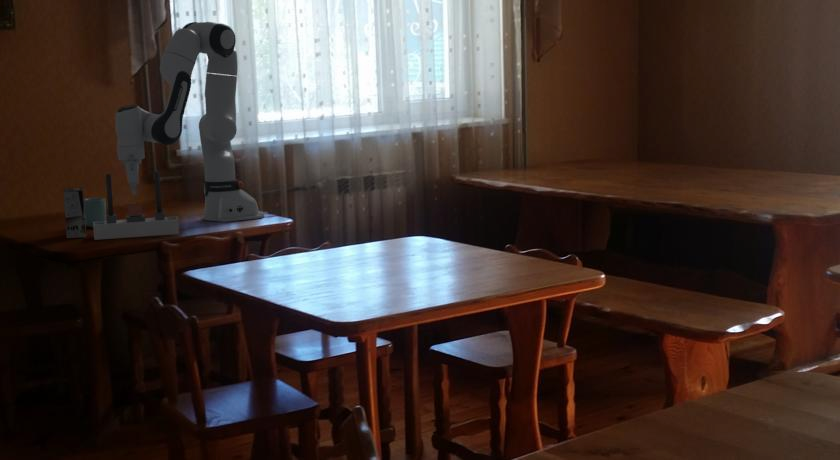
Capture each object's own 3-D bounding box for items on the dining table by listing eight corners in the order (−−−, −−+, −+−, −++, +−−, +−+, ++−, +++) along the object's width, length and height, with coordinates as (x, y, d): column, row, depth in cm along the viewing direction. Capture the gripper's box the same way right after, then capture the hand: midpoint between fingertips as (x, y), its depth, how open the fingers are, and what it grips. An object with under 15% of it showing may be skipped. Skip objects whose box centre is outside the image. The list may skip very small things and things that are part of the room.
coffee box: (86, 237, 359) (82, 190, 356) (66, 238, 357) (62, 191, 354) (86, 232, 368) (83, 186, 365) (67, 234, 366) (63, 188, 363)
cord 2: (164, 217, 365) (161, 170, 362) (164, 219, 361) (161, 172, 358) (155, 218, 364) (152, 171, 361) (155, 220, 360) (152, 172, 357)
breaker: (142, 215, 361) (141, 205, 361) (142, 214, 360) (141, 205, 360) (129, 215, 360) (128, 206, 360) (129, 215, 359) (128, 205, 359)
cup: (103, 228, 375) (101, 200, 374) (81, 228, 376) (79, 201, 374) (110, 224, 383) (108, 197, 381) (88, 224, 383) (86, 197, 381)
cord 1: (116, 221, 360) (112, 173, 357) (116, 222, 357) (112, 174, 354) (107, 221, 360) (103, 173, 357) (107, 223, 356) (103, 175, 353)
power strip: (178, 230, 368) (177, 211, 367) (179, 233, 361) (178, 214, 360) (94, 236, 361) (93, 217, 360) (94, 239, 354) (92, 220, 353)
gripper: (141, 156, 347) (144, 198, 350) (140, 150, 366) (143, 189, 369) (121, 157, 345) (124, 199, 348) (121, 151, 365) (124, 190, 367)
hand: (134, 194), depth 359 cm, fingers closed
